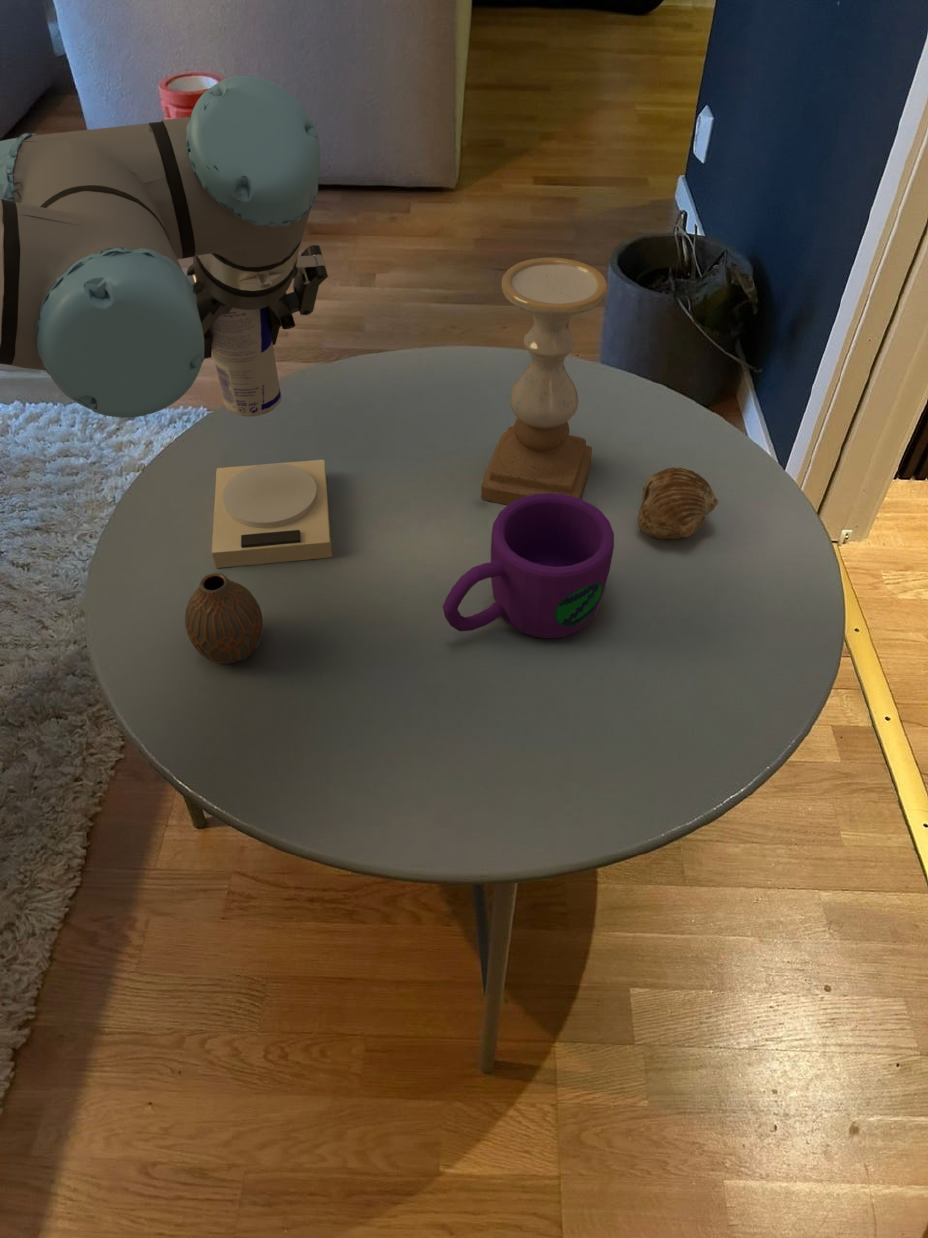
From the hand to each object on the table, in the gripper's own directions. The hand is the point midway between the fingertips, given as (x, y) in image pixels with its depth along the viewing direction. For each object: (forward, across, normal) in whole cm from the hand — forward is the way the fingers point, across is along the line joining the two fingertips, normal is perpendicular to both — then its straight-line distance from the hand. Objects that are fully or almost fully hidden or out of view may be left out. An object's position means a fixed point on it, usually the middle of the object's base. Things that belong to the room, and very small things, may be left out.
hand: (235, 337), depth 88 cm
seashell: (-1, +40, -29) cm, 49 cm away
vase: (-1, -9, -29) cm, 30 cm away
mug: (-6, +19, -34) cm, 39 cm away
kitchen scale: (+11, 0, -17) cm, 20 cm away
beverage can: (+1, 0, -6) cm, 7 cm away
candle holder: (+8, +30, -20) cm, 37 cm away
